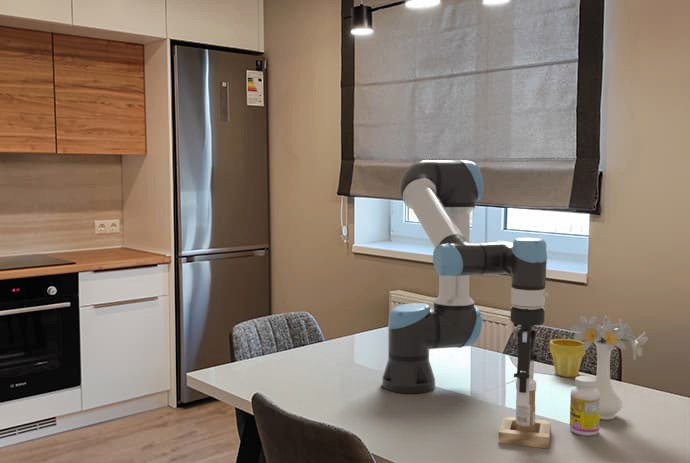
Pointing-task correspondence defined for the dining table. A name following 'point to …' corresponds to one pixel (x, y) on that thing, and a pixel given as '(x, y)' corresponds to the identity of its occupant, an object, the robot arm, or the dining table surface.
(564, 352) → the plant pot
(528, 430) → the sprinkles bottle
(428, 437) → the dining table surface
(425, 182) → the robot arm
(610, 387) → the flower vase
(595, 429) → the supplement bottle
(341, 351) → the dining table surface
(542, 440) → the socket block
